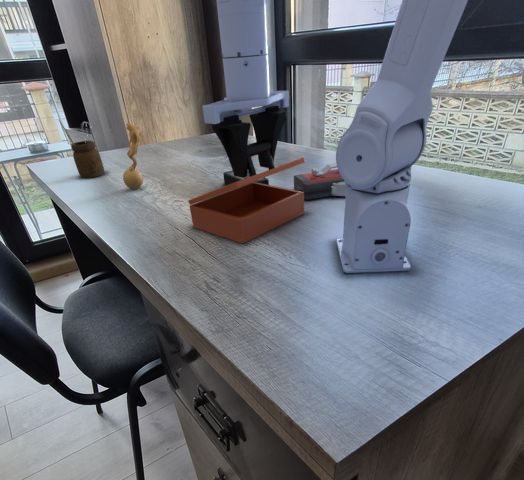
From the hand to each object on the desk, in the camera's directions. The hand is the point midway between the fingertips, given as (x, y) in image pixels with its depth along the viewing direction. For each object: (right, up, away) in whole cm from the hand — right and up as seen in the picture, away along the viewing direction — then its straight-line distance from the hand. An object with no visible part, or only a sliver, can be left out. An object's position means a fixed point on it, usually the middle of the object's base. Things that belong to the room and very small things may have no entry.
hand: (253, 171), depth 57 cm
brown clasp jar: (-40, +16, +36) cm, 56 cm away
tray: (-1, -5, +6) cm, 8 cm away
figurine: (-25, +8, +25) cm, 36 cm away
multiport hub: (-2, +6, +20) cm, 21 cm away
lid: (-1, -1, +2) cm, 3 cm away
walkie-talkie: (+17, +3, +15) cm, 23 cm away
